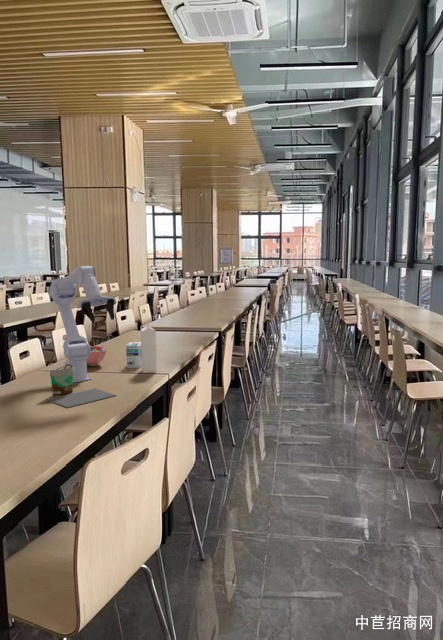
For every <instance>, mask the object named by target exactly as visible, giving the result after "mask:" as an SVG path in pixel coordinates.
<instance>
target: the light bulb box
mask: <svg viewBox="0 0 443 640" xmlns="http://www.w3.org/2000/svg"><path fill="white" fill-rule="evenodd" d="M125 348H126V356H125V358H126V368H127V369H129V368H130V369H133V368H134V369H137V368H138V369H142V359H141V341H130V342H128V343H127V344H126V346H125Z"/></svg>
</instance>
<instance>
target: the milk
mask: <svg viewBox="0 0 443 640" xmlns="http://www.w3.org/2000/svg"><path fill="white" fill-rule="evenodd" d="M156 332H157V331H156V330H155V329H154V328H152V327H151V326H150V323H149V322H146V325H145V326H144V327H143V328H141V329H140V342H141V359H142V366H141V371H142V372H143V374H144V373H146V374H147V373H157V372H158V371H157V340H156V339H157V337H156V336H157V335H156Z"/></svg>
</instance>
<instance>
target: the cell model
mask: <svg viewBox="0 0 443 640" xmlns="http://www.w3.org/2000/svg"><path fill="white" fill-rule="evenodd" d="M90 349H91V352H90V355H89V356H88V359H86V361H87V367H94V366H97V365H99V364H100V363H102V362H103V361H104V359H105V356H106V354H107V350H108V349H106V348H105V347H104V346H98V345H90Z"/></svg>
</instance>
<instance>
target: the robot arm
mask: <svg viewBox="0 0 443 640" xmlns="http://www.w3.org/2000/svg"><path fill="white" fill-rule="evenodd" d="M96 276H97V275H96V268H95V267H94V266H93V265H82V266H81V265H79V266H77V267H75V268H74V270H72V271H71V272H70V274H69V275H67V276H64V277H60V278H57V279H54V280H53V281H52V282H51V284H50V294H51V298H52V301H53V303H55V304H56V305H57V307H58V309H59V313H60V317H61V320H62V323H63V327H64V331H65V333H66V337H67V338H66V339H65V340H64V342H63V343H62V346H63V347H62V348H63V355H64V357H65V359H66V361H65V363H64V367H65V366H66V364H71V365H73V367H74V369H75V372H74V373H73V383H79V382H84V381H88V380H89V381H90V380H92V377H89V376H88V366H87V361H86V359H88V356H89V355H90V352H91V349H90V346H91V345H90V344H89V342H88V339H87V338H86V337H84V336H82V335H80V333H79V329H78V326H77V322H76V320H75V317H74V313H73V310H72V306H71V304H72V303H73V302H75V299H76V295H77V290H78V289H77V287H78V285H81V286H82V288H83V291H84V294H85V297H86V298H85V299H82V300H81V299H80V300H77V301H76V305H77V308H78V309H80V308H81V309H80V312H81V313H82V314H84V315H85V316H86V317H88V319H89V320H90V321H91V323H92V324H93V323H94V322H95V321H96V318H95V314H94V313H93V309H92V307H93V308H94V307H99V306H102V305H106V307H105V310H106V312H107V313H108V315H109V318H110V320H115V311H114V310H115V309H114V308H115V304H116V302H117V301H116V298H115V296H107V295H103V294H102V292H101V288H100V286H99V285H98V282H97V279H96Z"/></svg>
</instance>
